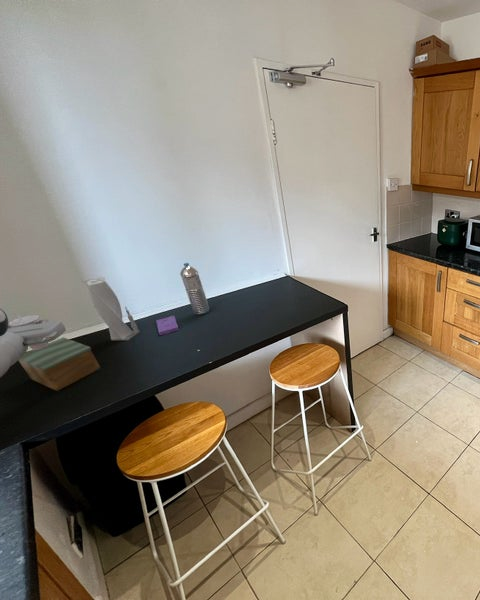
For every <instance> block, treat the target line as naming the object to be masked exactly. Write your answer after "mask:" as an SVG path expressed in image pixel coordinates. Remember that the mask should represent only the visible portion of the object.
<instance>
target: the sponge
mask: <svg viewBox="0 0 480 600" xmlns="http://www.w3.org/2000/svg"><path fill="white" fill-rule="evenodd" d="M155 322H156V326H157V331H158V334H159V336H163V335H167V334H170V333H173V332H177V331H179V329H180V328H179V326H178V323H177V319H176V316H175V315H171V316H168V317H163V318H161V319H156V321H155Z"/></svg>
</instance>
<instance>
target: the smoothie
mask: <svg viewBox="0 0 480 600" xmlns="http://www.w3.org/2000/svg"><path fill="white" fill-rule="evenodd" d="M11 309H12V311H13V313H14V314H15V316H16V317H17V318H15V319H13V320H11V321H10V322H8V325H9V326H10V328H15V327H21V326H27V325H33V324H39V323H38V322H39V321H40V320H42V319H41V317H40V315H37V314H31V315H26V316H25V315H24V316H22V317H21V315H20V314H19V312H18V310H17V309H16V307H12V308H11ZM49 343H50V342H48V343H43V344H37V345H32V346H29V348H30V349H31V351H32V350H38V349H42V348H45V347H46V346H48V345H49Z"/></svg>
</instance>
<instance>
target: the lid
mask: <svg viewBox="0 0 480 600" xmlns="http://www.w3.org/2000/svg"><path fill="white" fill-rule="evenodd" d="M48 343H49V345H48V346H46V347H45V348H42V349H38V350H32V349H31V350H29V351H27V352H26V353H25V354H24V355H23V356H22V357H21V358H20V359H19V360H21V361H23V362H26V363H28V364H30V365H32V366H35V367H37V368H39V369H42V370H44V371H45V370H47V369H49V368H51V367H53V366H56V365H58V364H60V363H62V362H64V361H66V360H68V359H71V358H73V357H75V356H77V355H79V354H81V353H84V352H86V351H88V350H90V349H91V350H92V347H90V346H89V345H87V344H86V345H85V344H82V343H80V342H77V341H76V340H75V341H74V340H72V339H70V338H66V337H61V338H57V339H55V340H53V341H51V342H48Z"/></svg>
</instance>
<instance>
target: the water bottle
mask: <svg viewBox="0 0 480 600" xmlns="http://www.w3.org/2000/svg"><path fill="white" fill-rule="evenodd" d="M179 274H180V277H181V280H182V282H183V285H184V288H185V291H186V295H187V299H188V301H189V304H190V307H191V310H192V312H193V314H194V315H196V316H203V315H207V314H208V313H209V312H210V311H211V308H210V305H209V303H208V299H207V296H206V292H205V289H204V286H203V285H202V282H201V278H200V275H199V270H198V269H196V267H193V266H190V263H189V262H184V263H183V268H182V269H181V271H180V273H179Z"/></svg>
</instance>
